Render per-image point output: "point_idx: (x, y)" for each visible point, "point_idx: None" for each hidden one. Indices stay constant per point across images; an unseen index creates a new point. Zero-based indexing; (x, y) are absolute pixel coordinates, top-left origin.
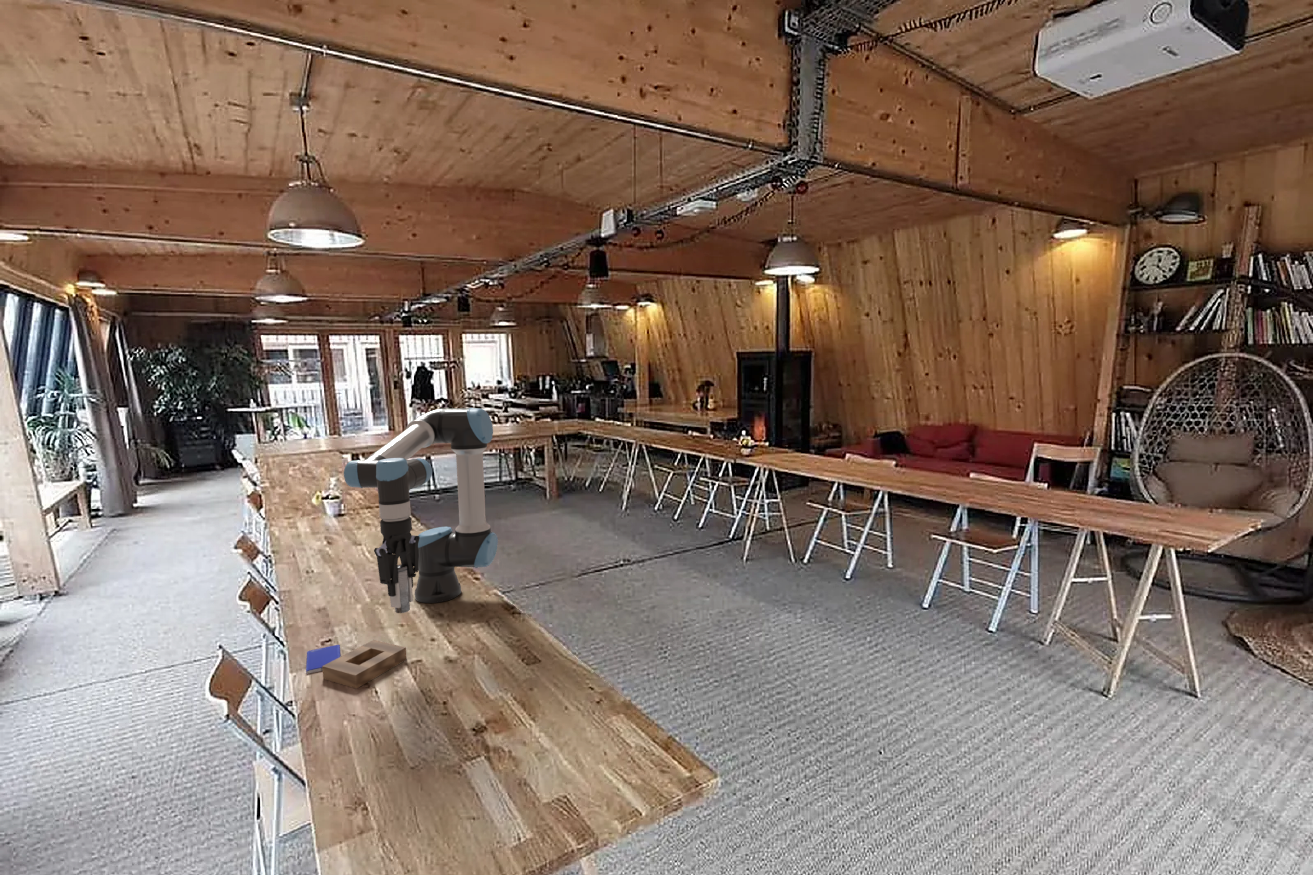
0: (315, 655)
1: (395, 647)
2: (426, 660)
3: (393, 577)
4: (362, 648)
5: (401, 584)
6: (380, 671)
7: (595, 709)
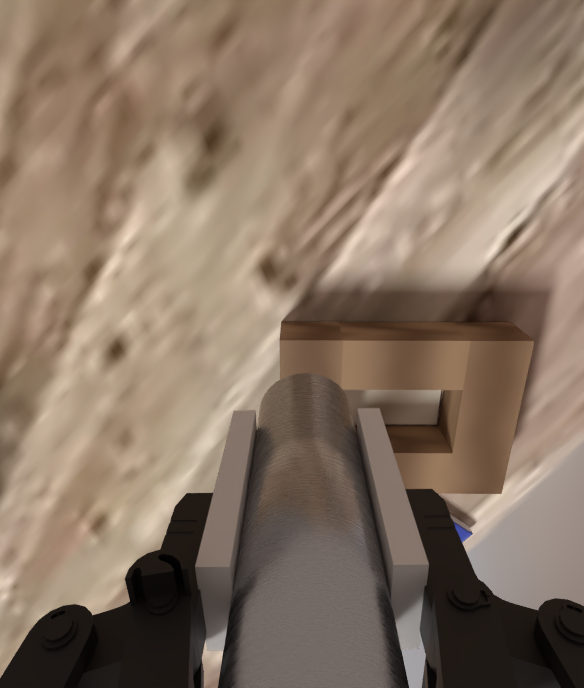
0: None
1: None
2: (254, 244)
3: (504, 669)
4: None
5: (360, 540)
6: (408, 326)
7: None
